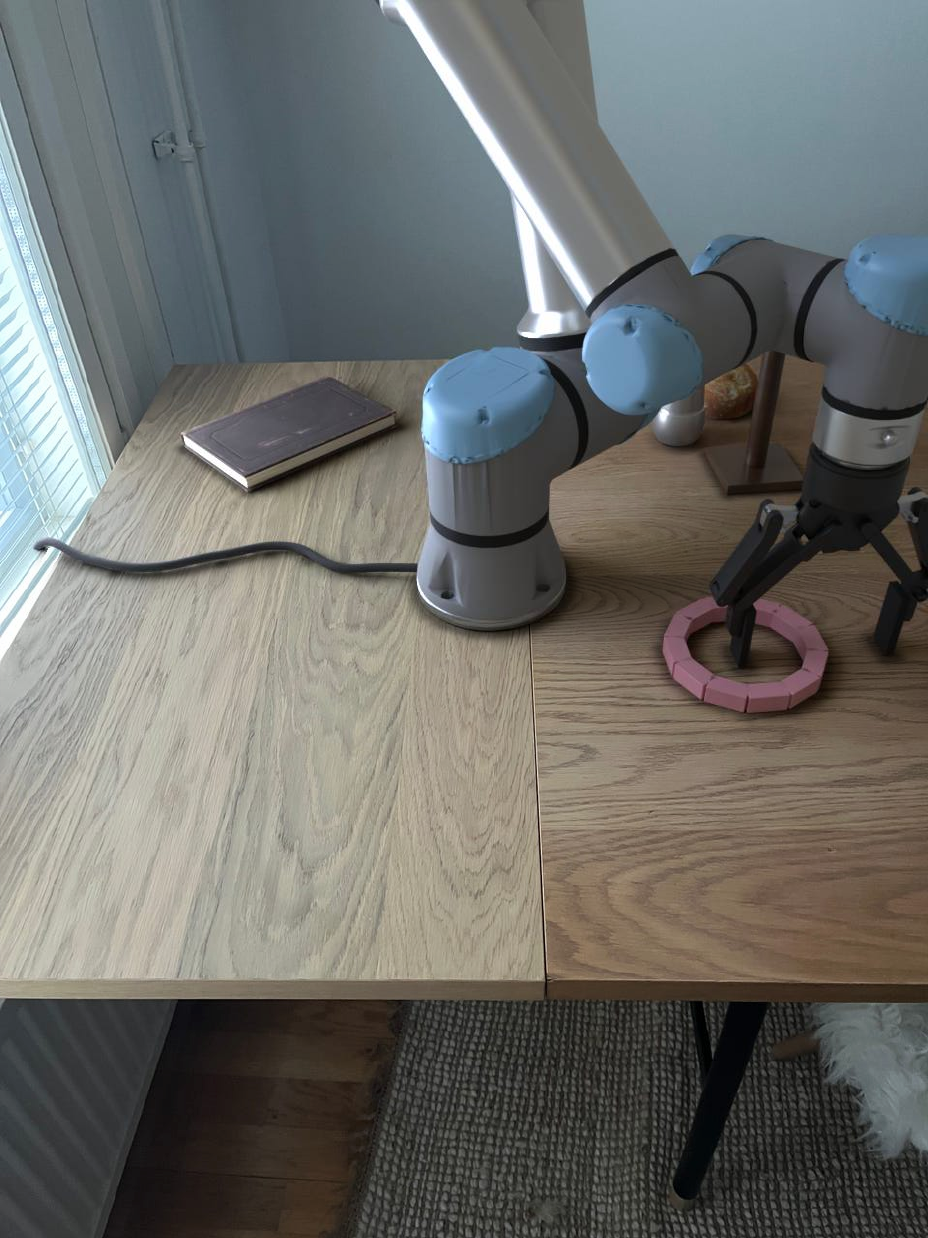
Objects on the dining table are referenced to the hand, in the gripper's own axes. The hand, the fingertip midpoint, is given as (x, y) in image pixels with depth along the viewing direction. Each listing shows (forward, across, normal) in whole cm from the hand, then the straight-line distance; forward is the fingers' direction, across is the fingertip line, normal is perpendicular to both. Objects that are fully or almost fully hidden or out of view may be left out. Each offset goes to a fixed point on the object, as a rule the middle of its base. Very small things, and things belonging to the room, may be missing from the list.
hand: (810, 652), depth 88 cm
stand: (0, +5, +32) cm, 32 cm away
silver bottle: (0, -2, +41) cm, 41 cm away
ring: (0, -6, 0) cm, 6 cm away
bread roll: (0, +6, +50) cm, 50 cm away
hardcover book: (0, -51, +49) cm, 71 cm away
